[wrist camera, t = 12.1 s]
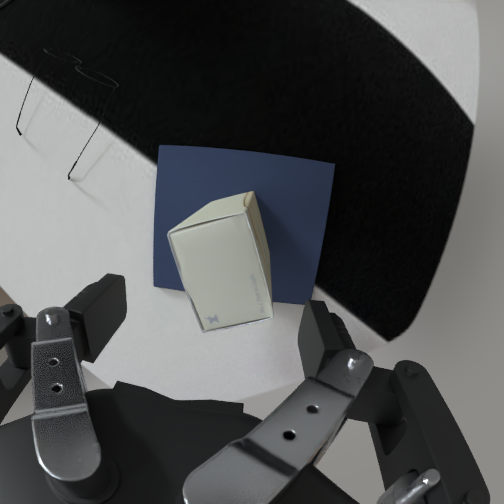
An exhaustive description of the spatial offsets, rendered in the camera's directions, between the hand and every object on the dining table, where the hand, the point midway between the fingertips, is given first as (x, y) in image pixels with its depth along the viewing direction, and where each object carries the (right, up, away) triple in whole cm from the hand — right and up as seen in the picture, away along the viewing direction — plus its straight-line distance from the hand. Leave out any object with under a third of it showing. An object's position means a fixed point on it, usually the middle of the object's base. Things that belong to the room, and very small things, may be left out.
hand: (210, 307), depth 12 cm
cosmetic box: (+1, +5, +14) cm, 15 cm away
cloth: (0, +5, +15) cm, 15 cm away
